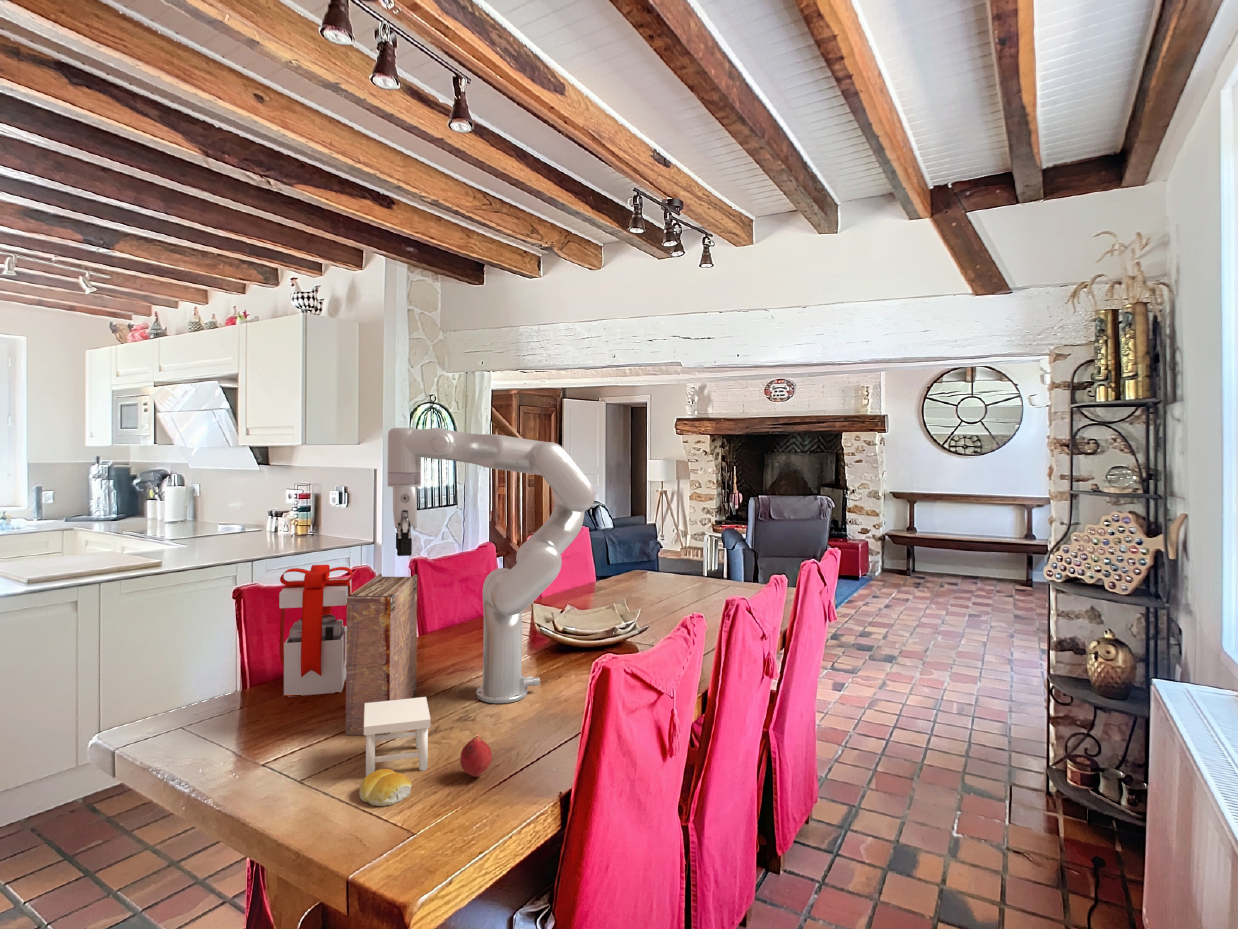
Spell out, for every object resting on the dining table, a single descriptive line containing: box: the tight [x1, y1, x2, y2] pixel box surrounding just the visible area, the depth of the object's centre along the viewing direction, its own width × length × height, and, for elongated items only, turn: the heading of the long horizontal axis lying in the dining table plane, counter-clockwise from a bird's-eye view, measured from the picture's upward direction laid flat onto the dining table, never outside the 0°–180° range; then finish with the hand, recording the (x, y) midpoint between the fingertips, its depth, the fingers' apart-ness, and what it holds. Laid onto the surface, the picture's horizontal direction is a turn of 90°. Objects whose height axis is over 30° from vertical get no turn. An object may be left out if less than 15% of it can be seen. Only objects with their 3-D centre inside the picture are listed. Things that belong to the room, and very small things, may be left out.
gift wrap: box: [278, 564, 354, 696], centre depth 174 cm, size 17×17×30 cm
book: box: [345, 573, 418, 736], centre depth 158 cm, size 25×9×30 cm, turn 4°
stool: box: [363, 696, 431, 777], centre depth 135 cm, size 12×12×10 cm
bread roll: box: [359, 768, 413, 807], centre depth 122 cm, size 8×9×4 cm
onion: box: [459, 734, 493, 778], centre depth 129 cm, size 6×6×8 cm
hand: (403, 552), depth 162 cm, fingers open, 9 cm apart
